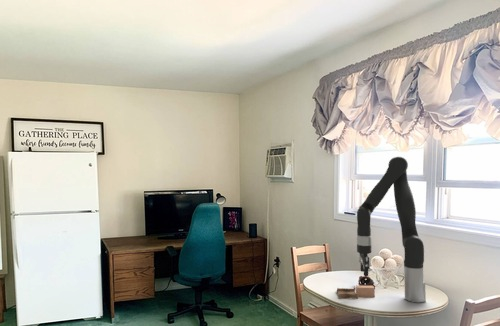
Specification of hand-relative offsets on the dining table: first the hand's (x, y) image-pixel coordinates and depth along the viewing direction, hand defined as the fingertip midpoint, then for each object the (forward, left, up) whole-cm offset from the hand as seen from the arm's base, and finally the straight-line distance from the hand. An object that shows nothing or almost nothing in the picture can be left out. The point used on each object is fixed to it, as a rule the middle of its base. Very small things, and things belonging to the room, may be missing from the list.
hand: (364, 273), depth 193 cm
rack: (+9, 0, -12) cm, 15 cm away
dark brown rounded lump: (-3, -11, -12) cm, 17 cm away
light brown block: (0, 0, -12) cm, 12 cm away
